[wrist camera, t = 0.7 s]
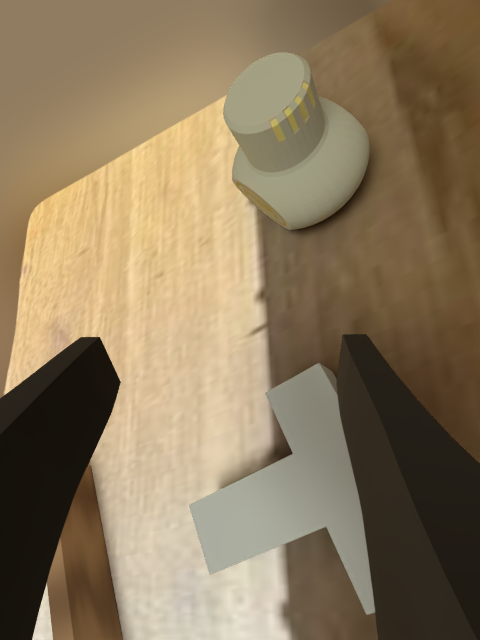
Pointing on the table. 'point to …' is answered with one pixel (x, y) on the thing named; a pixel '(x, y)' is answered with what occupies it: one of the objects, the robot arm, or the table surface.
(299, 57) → the air freshener
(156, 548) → the table surface
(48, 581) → the bar
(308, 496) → the T block
